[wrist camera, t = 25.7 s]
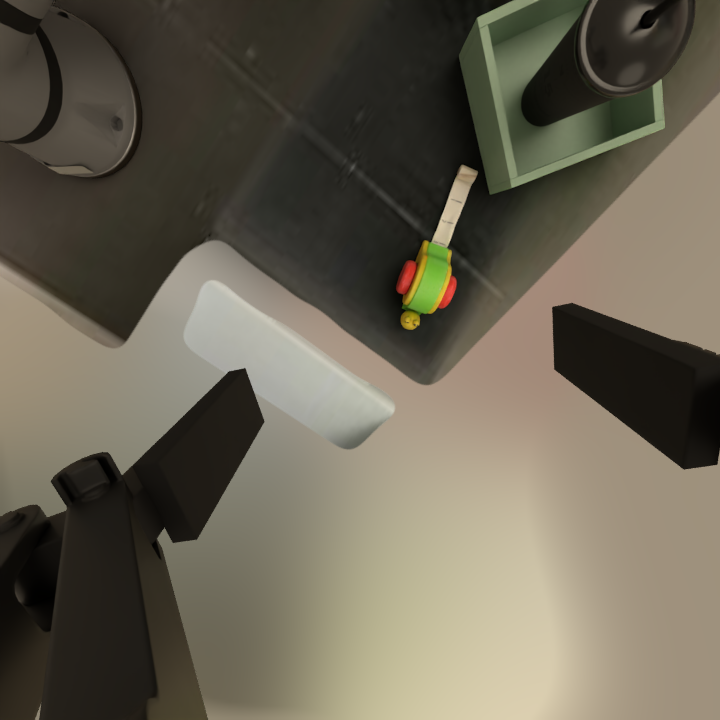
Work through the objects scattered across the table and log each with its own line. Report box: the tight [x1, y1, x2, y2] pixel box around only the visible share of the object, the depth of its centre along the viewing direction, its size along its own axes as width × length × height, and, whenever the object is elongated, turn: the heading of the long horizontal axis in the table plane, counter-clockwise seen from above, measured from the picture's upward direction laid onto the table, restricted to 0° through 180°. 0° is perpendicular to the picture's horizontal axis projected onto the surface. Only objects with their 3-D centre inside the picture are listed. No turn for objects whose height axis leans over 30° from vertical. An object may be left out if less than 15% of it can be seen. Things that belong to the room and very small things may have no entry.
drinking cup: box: [521, 0, 695, 127], centre depth 27 cm, size 8×8×20 cm
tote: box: [459, 0, 665, 195], centre depth 34 cm, size 14×14×7 cm
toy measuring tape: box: [396, 165, 478, 330], centre depth 40 cm, size 6×20×7 cm, turn 160°
